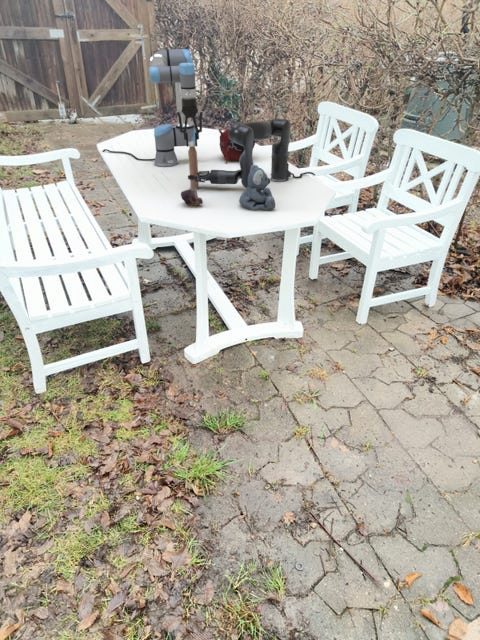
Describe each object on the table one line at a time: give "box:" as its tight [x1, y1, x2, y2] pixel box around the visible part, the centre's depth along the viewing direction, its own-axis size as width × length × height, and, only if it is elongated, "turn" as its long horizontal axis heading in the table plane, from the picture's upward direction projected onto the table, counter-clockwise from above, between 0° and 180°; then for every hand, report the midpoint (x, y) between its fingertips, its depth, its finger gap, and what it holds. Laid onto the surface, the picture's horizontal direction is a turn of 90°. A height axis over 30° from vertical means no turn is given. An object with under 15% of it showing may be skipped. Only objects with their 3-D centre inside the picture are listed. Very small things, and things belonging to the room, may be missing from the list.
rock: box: [180, 188, 204, 207], centre depth 229 cm, size 12×9×10 cm
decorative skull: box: [218, 128, 256, 164], centre depth 298 cm, size 21×24×25 cm
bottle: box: [187, 146, 200, 190], centre depth 247 cm, size 5×5×24 cm
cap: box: [188, 141, 196, 148], centre depth 240 cm, size 4×4×2 cm
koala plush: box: [238, 164, 276, 211], centre depth 224 cm, size 17×18×20 cm
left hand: (192, 145), depth 241 cm, fingers closed on cap, 4 cm apart
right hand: (189, 175), depth 250 cm, fingers closed on bottle, 4 cm apart
